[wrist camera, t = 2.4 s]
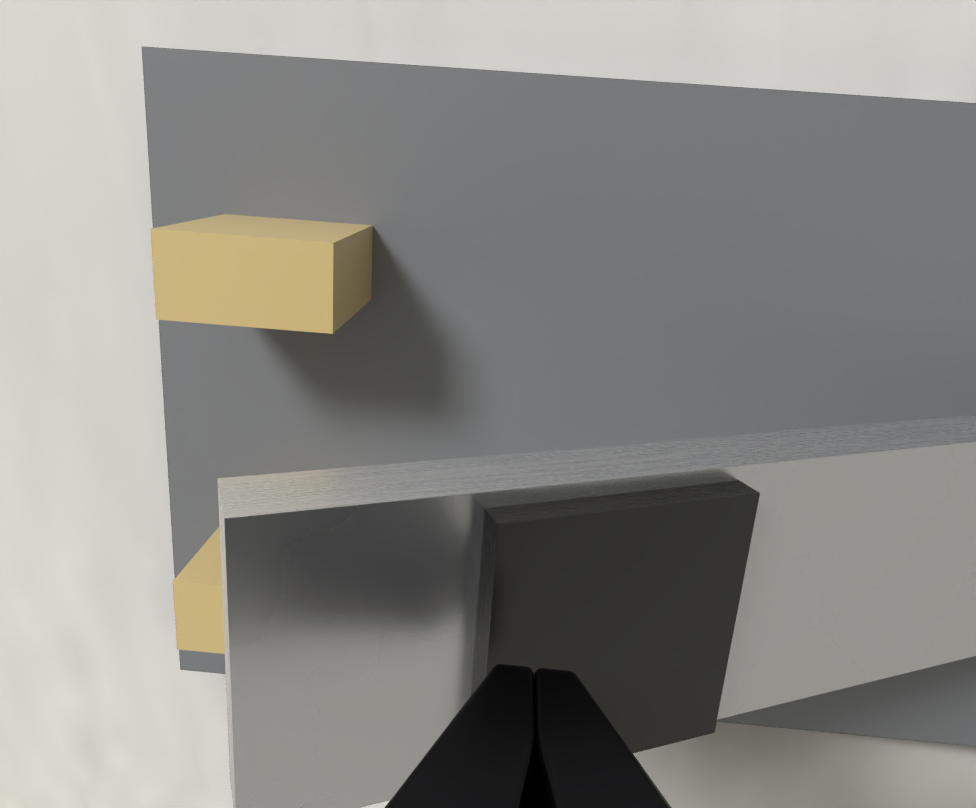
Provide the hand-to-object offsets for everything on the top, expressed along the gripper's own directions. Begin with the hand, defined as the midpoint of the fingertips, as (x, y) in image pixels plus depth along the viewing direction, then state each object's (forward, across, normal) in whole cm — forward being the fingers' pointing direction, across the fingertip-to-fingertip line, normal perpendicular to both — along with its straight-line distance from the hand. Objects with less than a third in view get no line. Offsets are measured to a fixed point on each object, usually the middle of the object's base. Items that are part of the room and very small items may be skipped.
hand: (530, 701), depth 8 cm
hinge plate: (+10, -4, 0) cm, 11 cm away
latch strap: (+8, -13, 0) cm, 15 cm away
